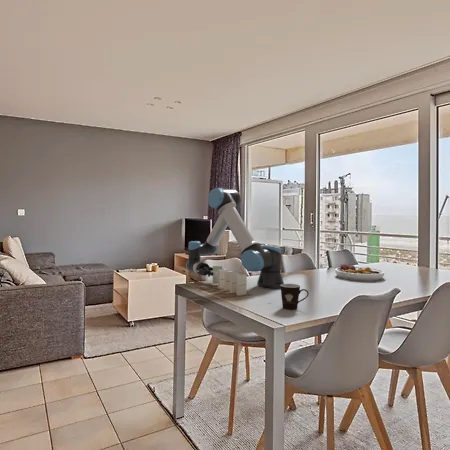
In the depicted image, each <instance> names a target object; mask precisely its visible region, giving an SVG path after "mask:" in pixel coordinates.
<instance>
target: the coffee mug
mask: <svg viewBox="0 0 450 450" xmlns="http://www.w3.org/2000/svg"><path fill="white" fill-rule="evenodd" d="M280 286H281V288H280V293H281V295H280V297H281V305H282V309H284V310H288V311H289V310H290V311H293V310H297V309H298V304H299V303H301V302H302V301H304V300H306V299H307V298H308V297H309V291H308V290H307V289H305V288H303V289H302V288H301V285H299V284H296V283H284V284H281V285H280ZM303 291H305V292H306V293H307V294H306V295H305V297H304V298H302V299H299V297H300V295H301V292H303Z"/></svg>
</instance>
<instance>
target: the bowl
mask: <svg viewBox="0 0 450 450" xmlns="http://www.w3.org/2000/svg"><path fill="white" fill-rule="evenodd" d="M335 274H336V276H337V277H338V278H340V279H343V280H349V281H356V282H357V281H359V282H374V281H380V280H381V279H383V278H384V276H385V271H383V270H381V269H377V268H372V267H369V266H367V267H361V266H358V267H357V266H355V265H354V264H349V265H348V264H347V263H343V264H341V265H340V266H339V267H337V268H335Z"/></svg>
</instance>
